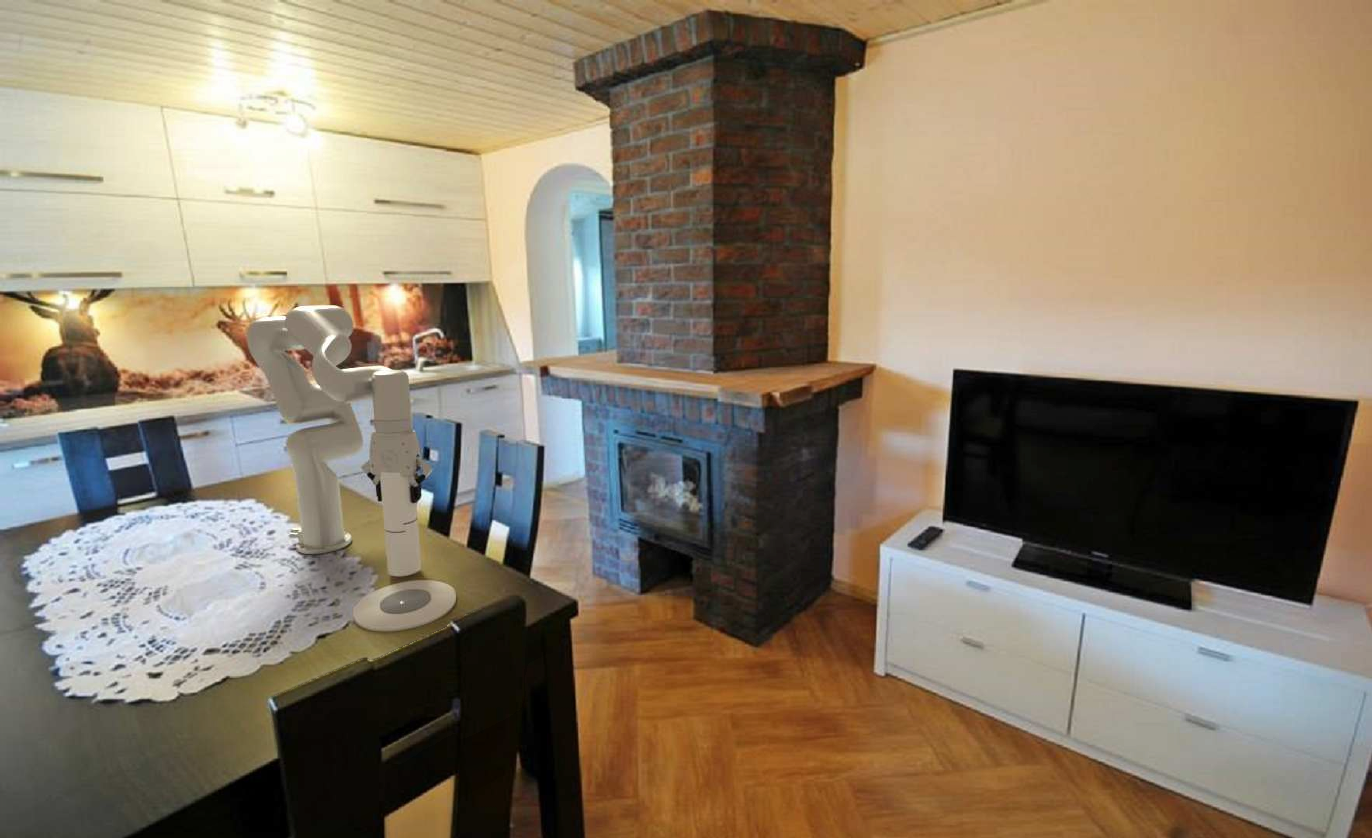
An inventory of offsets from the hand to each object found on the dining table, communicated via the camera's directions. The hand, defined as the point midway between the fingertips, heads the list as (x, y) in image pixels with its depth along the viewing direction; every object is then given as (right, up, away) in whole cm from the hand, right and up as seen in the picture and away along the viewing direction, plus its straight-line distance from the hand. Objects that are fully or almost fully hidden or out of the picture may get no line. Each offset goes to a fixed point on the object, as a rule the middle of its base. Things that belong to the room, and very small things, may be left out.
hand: (399, 499), depth 143 cm
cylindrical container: (-1, -17, +4) cm, 18 cm away
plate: (+6, -21, -10) cm, 25 cm away
